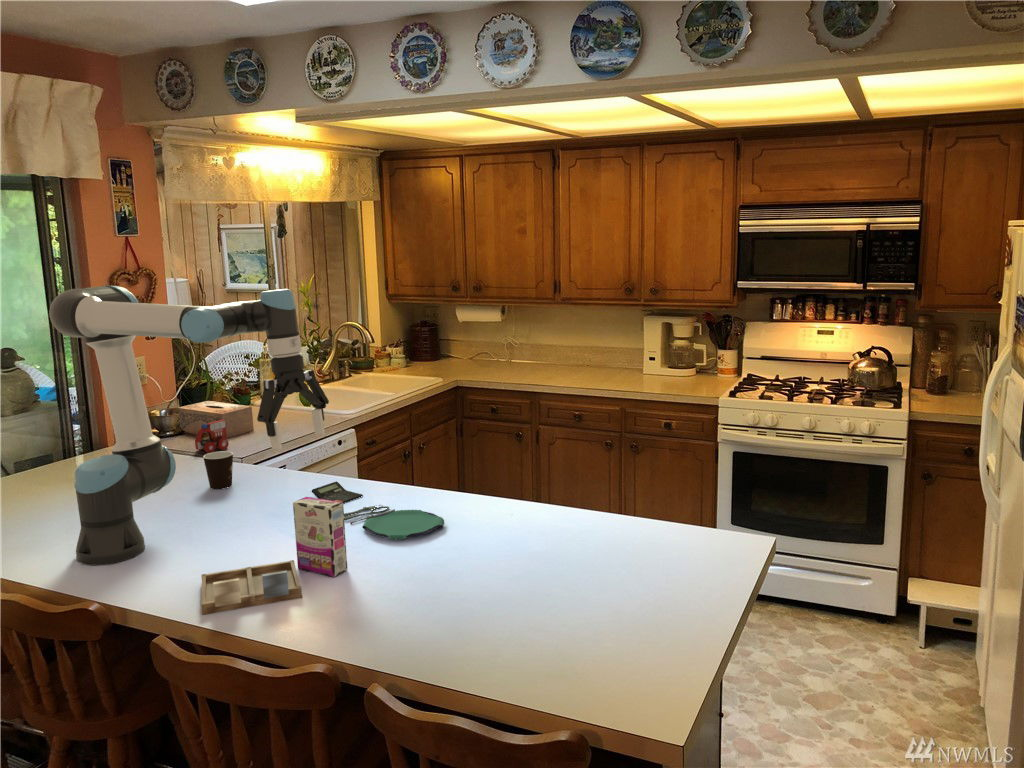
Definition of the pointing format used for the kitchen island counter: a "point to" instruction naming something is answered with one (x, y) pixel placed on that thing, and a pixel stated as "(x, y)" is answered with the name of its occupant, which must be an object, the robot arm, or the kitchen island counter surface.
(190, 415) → the tissue box cover
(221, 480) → the coffee mug
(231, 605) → the divided tray
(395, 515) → the cutlery set
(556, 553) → the kitchen island counter surface
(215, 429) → the toy fire truck
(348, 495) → the calculator
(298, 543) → the candy bar box
